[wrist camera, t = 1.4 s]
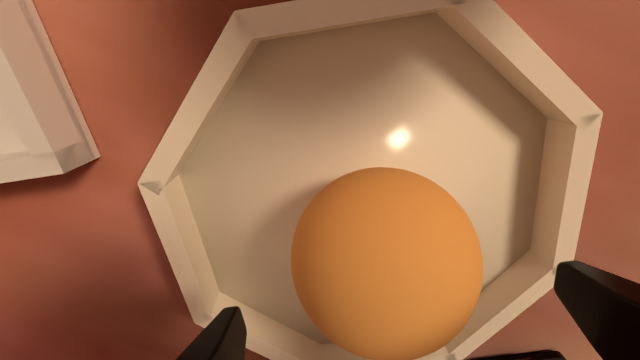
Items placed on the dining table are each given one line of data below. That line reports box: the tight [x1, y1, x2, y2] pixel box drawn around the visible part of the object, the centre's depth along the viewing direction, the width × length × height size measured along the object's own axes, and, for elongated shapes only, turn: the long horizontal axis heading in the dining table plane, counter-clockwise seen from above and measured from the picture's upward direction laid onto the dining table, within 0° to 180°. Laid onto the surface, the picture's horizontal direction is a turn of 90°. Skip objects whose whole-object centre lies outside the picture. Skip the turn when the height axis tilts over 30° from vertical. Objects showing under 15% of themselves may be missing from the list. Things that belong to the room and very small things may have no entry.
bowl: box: [137, 0, 603, 360], centre depth 13 cm, size 16×16×2 cm
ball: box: [291, 167, 483, 360], centre depth 10 cm, size 6×6×6 cm
